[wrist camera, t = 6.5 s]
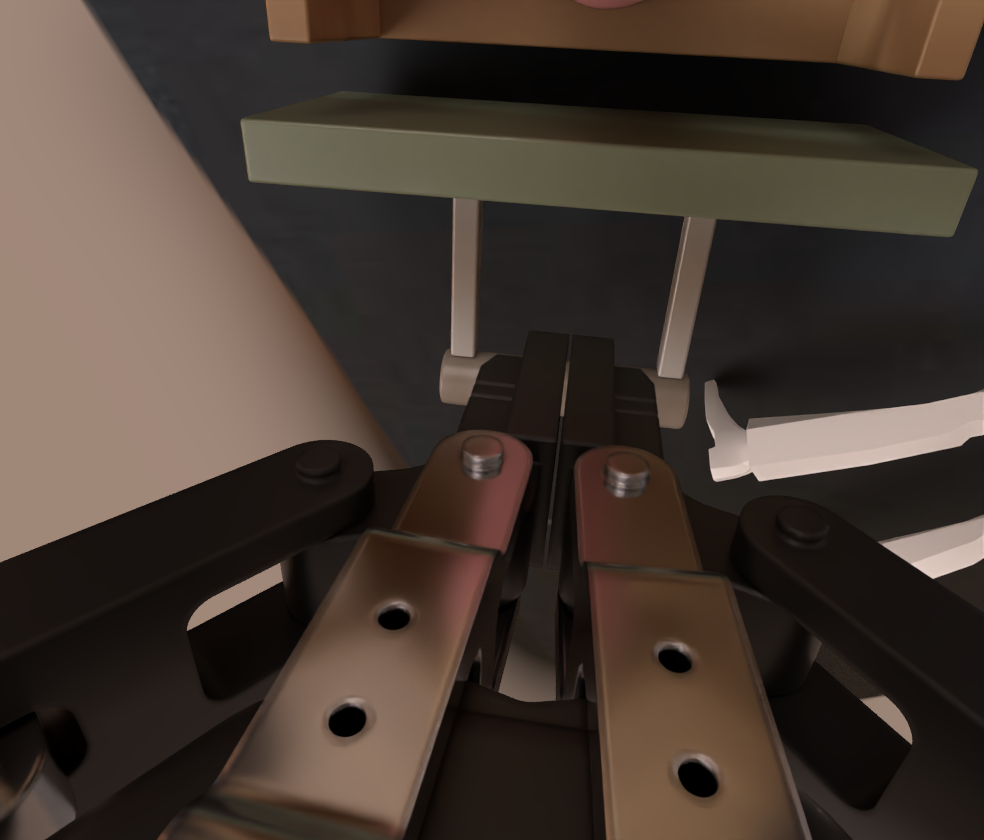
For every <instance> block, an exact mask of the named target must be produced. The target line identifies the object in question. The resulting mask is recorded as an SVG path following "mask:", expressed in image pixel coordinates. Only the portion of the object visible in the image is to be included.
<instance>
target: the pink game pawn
mask: <svg viewBox="0 0 984 840" xmlns="http://www.w3.org/2000/svg"><path fill="white" fill-rule="evenodd" d="M575 1H576V2H578V3H580V4H583V5H585V6H588V7H591V8H595V9H602V10H615V9H621V8H626V7H629V6H632V5H635V4H637V3H639V2H641V1H643V0H575Z"/></svg>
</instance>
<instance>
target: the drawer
mask: <svg viewBox="0 0 984 840" xmlns="http://www.w3.org/2000/svg"><path fill="white" fill-rule="evenodd" d="M266 7H267V16H268V25H269V34H270V39H271V40H272V41H274V42H288V43H306V44H311V43H324V42H336V41H349V40H362V39H374V38H386V39H404V40H422V41H440V42H458V43H476V44H494V45H512V46H531V47H549V48H567V49H585V50H603V51H621V52H639V53H657V54H675V55H693V56H711V57H729V58H747V59H765V60H784V61H802V62H820V63H838V64H843V65H848V66H854V67H859V68H864V69H870V70H875V71H881V72H886V73H891V74H897V75H902V76H907V77H913V78H922V79H940V80H960V79H962V78H963V77H964V75H965V72H966V70H967V67H968V64H969V61H970V59H971V56H972V53H973V50H974V48H975V45H976V42H977V39H978V37H979V34H980V31H981V28H982V26H983V23H984V0H643V1H641V2H639V3H637V4H635V5H632V6H629V7H626V8H621V9H615V10H602V9H595V8H591V7H588V6H585V5H583V4H580V3H578V2H576V1H575V0H266ZM241 128H242V136H243V143H244V150H245V157H246V164H247V172H248V178H249V181H251V182H255V183H268V184H281V185H293V186H306V187H319V188H331V189H344V190H356V191H369V192H382V193H394V194H407V195H420V196H432V197H445V198H453V231H452V308H451V348H450V349H447V350H446V352H445V354H444V357H443V361H442V366H441V373H440V397H441V400H442V402H444V403H448V404H457V405H466V406H467V403H468V400H469V397H470V396H471V392H472V389H473V386H474V384H475V381H476V378H477V375H478V372H479V370H480V367H481V365H483V364H484V363H485V362H487V361H488V360H490V359H491V358H492V357H494V356H495V355H496V354H502V353H492V352H482V351H477V348H478V334H479V306H480V278H481V250H482V222H483V201H495V202H508V203H520V204H533V205H546V206H558V207H571V208H584V209H596V210H609V211H621V212H634V213H647V214H659V215H672V216H684V222H683V227H682V233H681V238H680V243H679V248H678V254H677V259H676V264H675V270H674V275H673V280H672V285H671V291H670V296H669V301H668V306H667V312H666V317H665V322H664V328H663V333H662V338H661V343H660V349H659V354H658V359H657V364H656V366H657V369H648V368H639V367H629V366H619V365H614V366H618V367H628V368H638V369H641V370H642V371H643V372H644V373H645V374H646V375H647V376H648V377H649V379H650V380H651V381H652V382H653V383H654V384H655V392H656V404H657V408H658V417H659V424H660V427H665V428H674V429H679V428H681V427H682V426H683V424H684V422H685V419H686V416H687V412H688V406H689V398H690V380H689V376H688V374H687V373H685V372H684V370H685V366H686V361H687V356H688V352H689V347H690V342H691V338H692V333H693V328H694V324H695V319H696V314H697V310H698V305H699V301H700V296H701V291H702V287H703V282H704V277H705V273H706V268H707V263H708V259H709V254H710V249H711V245H712V240H713V235H714V231H715V226H716V221H717V219H722V220H735V221H748V222H760V223H773V224H785V225H798V226H811V227H823V228H836V229H849V230H861V231H874V232H886V233H899V234H912V235H924V236H937V237H951V236H953V234H954V232H955V230H956V227H957V225H958V222H959V220H960V217H961V215H962V212H963V210H964V207H965V205H966V202H967V200H968V198H969V195H970V193H971V190H972V188H973V185H974V183H975V180H976V178H977V175H978V170H977V169H975V168H973V167H971V166H968V165H966V164H963V163H961V162H958V161H956V160H953V159H951V158H948V157H946V156H943V155H941V154H938V153H936V152H933V151H931V150H928V149H926V148H923V147H921V146H918V145H916V144H913V143H911V142H908V141H906V140H903V139H901V138H898V137H896V136H893V135H891V134H888V133H886V132H883V131H881V130H878V129H876V128H873V127H871V126H868V125H863V124H847V123H831V122H816V121H800V120H785V119H769V118H753V117H738V116H722V115H706V114H691V113H675V112H659V111H644V110H628V109H612V108H597V107H581V106H566V105H550V104H534V103H519V102H503V101H487V100H472V99H456V98H440V97H425V96H409V95H393V94H378V93H362V92H347V91H341V92H337V93H334V94H330V95H326V96H323V97H319V98H315V99H311V100H308V101H304V102H300V103H297V104H293V105H289V106H285V107H282V108H278V109H274V110H271V111H267V112H263V113H259V114H256V115H252V116H248V117H245V118H242V119H241ZM502 355H512V354H502ZM512 356H521V355H512ZM521 357H523V356H521ZM569 365H570V360H566V369H565V378H564V387H563V396H562V405H561V414H560V416H564V409H565V400H566V391H567V383H568V374H569Z"/></svg>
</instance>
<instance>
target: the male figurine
mask: <svg viewBox="0 0 984 840" xmlns="http://www.w3.org/2000/svg"><path fill="white" fill-rule="evenodd" d="M705 411H706V420H707V422H708V425H709V428H710V430H711V433H712V435H713V438H714V439H715V447H713V448H711V449H709V459H710V469H711V473H712V476H713V480H715V481H716V482H717V481H723V480H728V479H734V478H737V477H741V476H744V475H747V474H749V473H751V472H753V473H754V475H755V476H756V478H757V479H758V480H759V481H765V480H771V479H778V478H785V477H792V476H798V475H805V474H812V473H818V472H825V471H832V470H838V469H845V468H852V467H859V466H865V465H871V464H876V463H881V462H886V461H891V460H895V459H900V458H905V457H910V456H915V455H919V454H924V453H929V452H934V451H939V450H943V449H948V448H953V447H958V446H961V445H962V444H963V443H964V442H966V441H967V440H968V439H969V438H970V437H975V436H980V435H984V389H983V390H980V391H978V392H976V393H974V394H969V395H965V396H960V397H955V398H951V399H946V400H941V401H937V402H932V403H927V404H920V405H912V406H904V407H896V408H885V409H873V410H861V411H849V412H837V413H824V414H810V415H796V416H782V417H768V418H754V419H749V421H748V425H747V429H746V430H744V429H743V428H741V427H740V426H738V425H737V424H736V422H735V421H734V420H733V419H732V418H731V417H730V416H729V414H728V413H727V411H726V409H725V407H724V405H723V403H722V402H721V400H720V398H719V396H718V388H717V384H716V382H715V380H710V381H707V382H705ZM878 543H880V544H881V545H883V546H884V547H886V548H887V549H889V550H890V551H892V552H893V553H895V554H896V555H898V556H899V557H901V558H902V559H904V560H905V561H907V562H908V563H910V564H911V565H913V566H914V567H916V568H917V569H919V570H920V571H922V572H923V573H925V574H926V575H928V576H929V577H931V578H932V579H934V578H936V577H939V576H942V575H945V574H948V573H951V572H953V571H956V570H959V569H962V568H965V567H968V566H970V565H973V564H975V563H976V562H978V561H980V560H981V559H983V558H984V515H981V516H979V517H976V518H973V519H971V520H968V521H965V522H962V523H957V524H953V525H949V526H944V527H940V528H936V529H931V530H927V531H923V532H918V533H914V534H910V535H905V536H901V537H897V538H892V539H888V540H884V541H879V542H878Z"/></svg>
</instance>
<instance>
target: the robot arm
mask: <svg viewBox="0 0 984 840" xmlns="http://www.w3.org/2000/svg"><path fill="white" fill-rule="evenodd" d="M568 343H569V335H568V334H558V333H548V332H538V331H529V333H528V337H527V341H526V345H525V349H524V353H523V357H521V356H512V355H502V354H496V355H495V356H494V357H492V358H491V359H490V360H488V361H487V362H485V363H484V364H483V365H481V367H480V370H479V372H478V375H477V378H476V381H475V384H474V386H473V389H472V392H471V396H470V397H469V400H468V403H467V406H466V408H465V411H464V414H463V417H462V419H461V422H460V425H459V428H458V431H457V433H455V434H452V435H450V436H448V437H446V438H444V439H443V440H441V441H440V442H439V443H438V444H437V445H436V447H435V448H434V449H433V451H432V453H431V455H430V457H429V459H428V461H427V462H426V464H424V465H421V466H418V467H413V468H407V469H399V470H388V471H375V472H374V470H373V462H372V459H371V457H370V456H369V454H368V453H367V452H366V451H365V450H363V449H361V448H360V447H358V446H356V445H354V444H351V443H347V442H343V441H336V440H318V441H311V442H307V443H302V444H299V445H295V446H293V447H290V448H288V449H285V450H283V451H280V452H277V453H275V454H272V455H270V456H267V457H265V458H262V459H260V460H257V461H255V462H252V463H250V464H247V465H245V466H242V467H240V468H237V469H235V470H232V471H230V472H227V473H225V474H222V475H219V476H217V477H215V478H212V479H209V480H207V481H204V482H202V483H200V484H197V485H194V486H192V487H189V488H187V489H184V490H182V491H179V492H177V493H174V494H172V495H169V496H167V497H164V498H161V499H159V500H156V501H154V502H151V503H149V504H146V505H144V506H141V507H139V508H136V509H134V510H131V511H129V512H126V513H124V514H121V515H119V516H116V517H114V518H111V519H109V520H106V521H104V522H101V523H98V524H96V525H94V526H91V527H88V528H86V529H83V530H81V531H78V532H76V533H73V534H71V535H68V536H66V537H63V538H61V539H58V540H56V541H53V542H51V543H48V544H46V545H43V546H41V547H38V548H35V549H33V550H30V551H28V552H25V553H23V554H20V555H18V556H15V557H13V558H10V559H8V560H5V561H3V562H0V840H984V612H982V611H981V610H979V609H977V608H976V607H974V606H973V605H971V604H970V603H968V602H967V601H965V600H964V599H962V598H961V597H959V596H958V595H956V594H955V593H953V592H952V591H950V590H949V589H947V588H946V587H944V586H943V585H941V584H940V583H938V582H937V581H935V580H934V579H932V578H931V577H929V576H928V575H926V574H925V573H923V572H922V571H920V570H919V569H917V568H916V567H914V566H913V565H911V564H910V563H908V562H907V561H905V560H904V559H902V558H901V557H899V556H898V555H896V554H895V553H893V552H892V551H890V550H889V549H887V548H886V547H884V546H883V545H881V544H880V543H878V542H877V541H875V540H874V539H872V538H871V537H869V536H868V535H866V534H865V533H863V532H862V531H860V530H859V529H857V528H856V527H854V526H853V525H851V524H850V523H848V522H847V521H845V520H844V519H842V518H841V517H839V516H838V515H836V514H835V513H833V512H831V511H830V510H828V509H826V508H824V507H822V506H820V505H817V504H815V503H812V502H809V501H806V500H803V499H799V498H794V497H789V496H764V497H760V498H756V499H754V500H752V501H750V502H748V503H747V504H746V505H745V506H744V507H743V509H742V511H741V513H740V517H739V516H736V515H733V514H730V513H727V512H724V511H721V510H718V509H715V508H712V507H710V506H707V505H704V504H702V503H700V502H698V501H696V500H694V499H692V498H691V497H689V496H687V495H686V494H684V493H683V492H682V491H681V487H680V484H679V480H678V477H677V475H676V472H675V471H674V470H673V468H672V467H671V466H670V465H669V464H668V463H667V462H666V461H664V457H663V449H662V441H661V433H660V424H659V417H658V408H657V404H656V392H655V384H654V383H653V382H652V381H651V380H650V379H649V377H648V376H647V375H646V374H645V373H644V372H643V371H642V370H641V369H638V368H628V367H618V366H614V339H610V338H600V337H590V336H580V335H573V339H572V348H571V357H570V365H569V374H568V383H567V391H566V400H565V409H564V417H563V426H562V435H561V444H560V453H559V461H558V470H557V479H556V488H555V497H554V506H553V515H552V524H551V533H550V542H549V551H548V560H547V568H548V569H555V570H560V575H559V587H558V594H557V602H556V610H555V666H556V701H544V702H524V701H519V700H516V699H514V698H511V697H509V696H506V695H504V694H501V693H499V692H498V691H499V687H500V683H501V679H502V675H503V671H504V667H505V664H506V660H507V655H508V652H509V648H510V643H511V639H512V636H513V632H514V627H515V624H516V620H517V616H518V612H519V607H520V598H521V593H522V591H523V590H524V588H525V585H526V581H527V575H528V568H529V566H531V567H538V568H542V565H543V557H544V548H545V540H546V532H547V523H548V515H549V507H550V498H551V490H552V482H553V473H554V465H555V457H556V448H557V440H558V431H559V422H560V414H561V405H562V396H563V387H564V378H565V369H566V360H567V351H568ZM278 563H280V565H281V571H282V577H283V581H282V582H280V583H278V584H276V585H275V586H273V587H271V588H269V589H267V590H265V591H263V592H261V593H259V594H257V595H255V596H253V597H252V598H250V599H248V600H246V601H244V602H242V603H240V604H238V605H236V606H235V607H233V608H231V609H229V610H227V611H225V612H223V613H221V614H219V615H217V616H215V617H213V618H212V619H210V620H208V621H206V622H204V623H202V624H200V625H198V626H196V627H194V628H193V629H191V630H188V631H187V625H188V622H189V620H190V618H191V616H192V615H193V613H194V612H195V610H196V609H197V608H198V607H199V606H200V605H202V604H203V603H204V602H205V601H207V600H208V599H210V598H211V597H213V596H215V595H217V594H219V593H221V592H223V591H225V590H227V589H229V588H231V587H233V586H235V585H237V584H239V583H241V582H243V581H245V580H247V579H249V578H251V577H253V576H255V575H256V574H258V573H261V572H262V571H264V570H266V569H268V568H270V567H272V566H274V565H276V564H278ZM822 643H823V644H824V645H825V646H827V647H828V648H829V649H830V650H831V651H832V652H834V653H835V654H836V655H837V656H838V657H840V658H841V659H842V660H843V661H844V662H846V663H847V664H848V665H849V666H850V667H852V668H853V669H854V670H855V671H856V672H857V673H859V674H860V675H861V676H862V677H863V678H865V679H866V680H867V681H868V682H869V683H871V684H872V685H873V686H874V687H875V688H876V689H878V690H879V691H880V692H881V693H882V694H884V695H885V696H886V697H887V698H889V699H890V700H891V701H892V702H893V703H894V704H895V705H896V706H897V708H898V709H899V710H900V711H901V713H902V714H903V715H904V717H905V719H906V720H907V722H908V724H909V727H910V729H911V733H912V740H913V742H912V745H911V744H910V743H909V742H908V741H906V740H905V739H904V738H903V737H902V736H901V735H899V734H898V733H897V732H896V731H895V730H894V729H893V728H891V727H890V726H889V725H888V724H887V723H886V722H885V721H883V720H882V719H881V718H880V717H879V716H877V714H875V713H874V712H873V711H872V710H871V709H870V708H869V707H867V706H866V705H865V704H864V703H863V702H862V701H861V700H859V699H858V698H857V697H856V696H855V695H854V694H853V693H851V692H850V691H849V690H848V689H847V688H846V687H845V686H843V685H842V684H841V683H840V682H839V681H838V680H836V679H835V678H834V677H833V676H832V675H831V674H830V673H828V672H827V671H826V670H825V669H824V668H823V667H822V666H820V665H819V664H818V663H817V662H816V661H815V658H816V655H817V653H818V651H819V649H820V646H821V644H822Z"/></svg>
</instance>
